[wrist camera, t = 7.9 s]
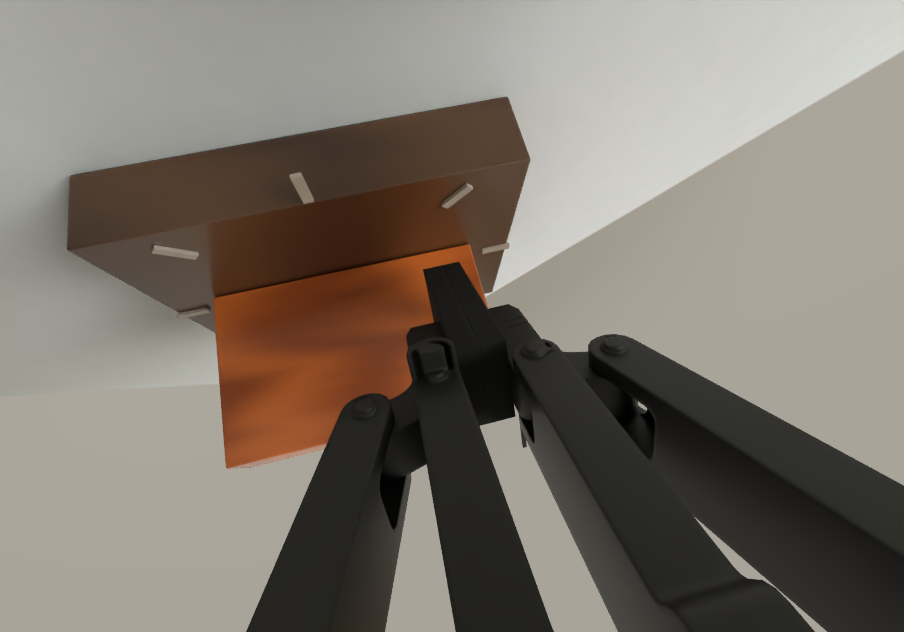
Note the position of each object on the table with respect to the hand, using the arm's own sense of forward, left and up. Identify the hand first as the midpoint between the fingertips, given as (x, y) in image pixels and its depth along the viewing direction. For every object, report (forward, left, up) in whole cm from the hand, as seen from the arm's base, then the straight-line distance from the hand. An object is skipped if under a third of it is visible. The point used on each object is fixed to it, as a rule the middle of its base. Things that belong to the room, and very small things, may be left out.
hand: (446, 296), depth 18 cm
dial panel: (-4, -3, -6) cm, 8 cm away
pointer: (-4, -3, -3) cm, 6 cm away
